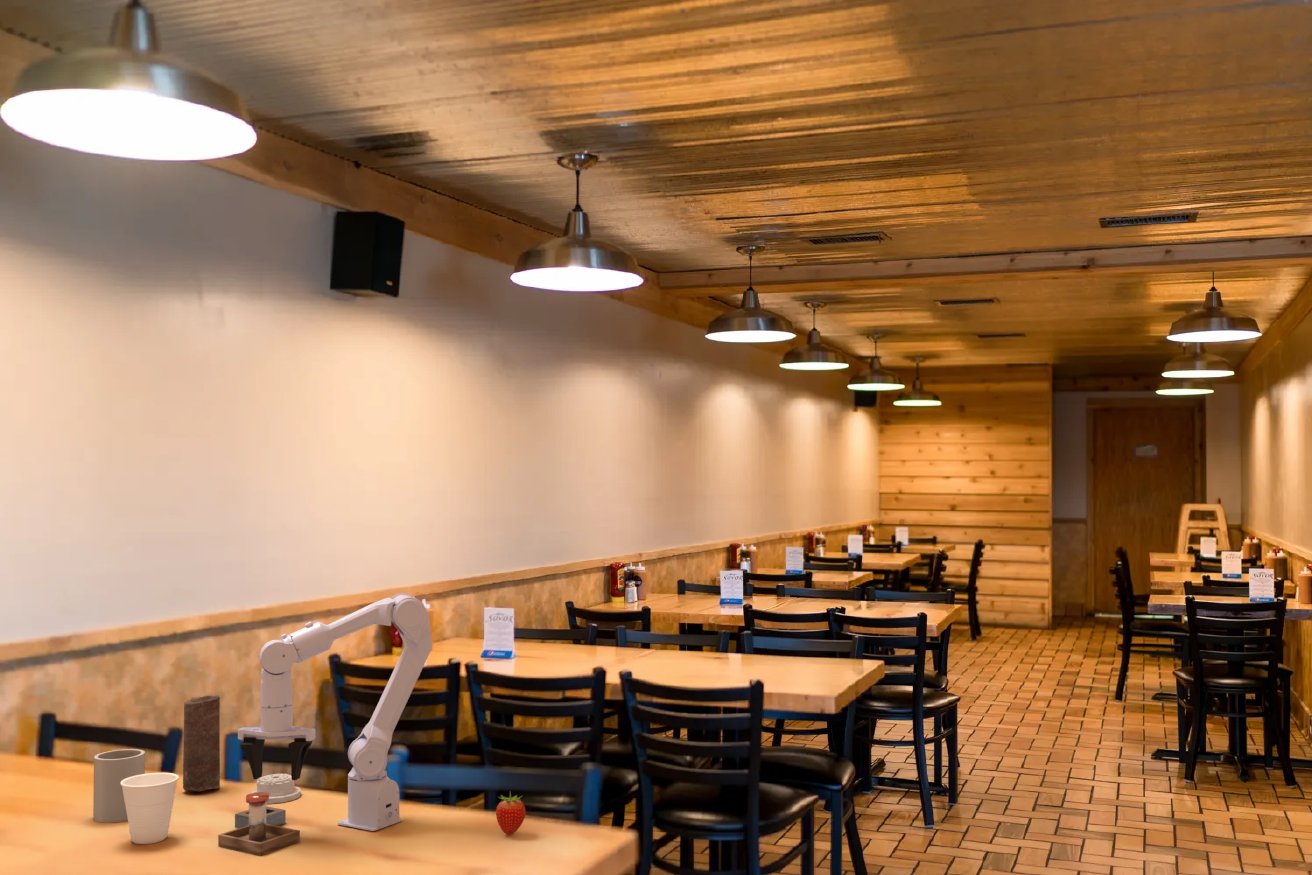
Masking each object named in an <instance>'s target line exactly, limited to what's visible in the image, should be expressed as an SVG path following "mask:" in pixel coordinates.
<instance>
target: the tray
mask: <svg viewBox="0 0 1312 875" xmlns="http://www.w3.org/2000/svg"><path fill="white" fill-rule="evenodd" d="M217 840H218V841H217V843H218V844H217V846H218V847H219V848H220V847H221V848H224V849H229V850H233V851H239V852H243V853H245V854H246V853H247V854H252V855H257V856H263V855H266V854H268V853H271V852H274V851H277V850H280V849H283V848H286V847H288V846H291V845H294V844H296V843H300V842H301V830H300V829H294V828H290V827H284V826H281V825H279V826H276V825H271V824H266V840H264V841H260V842H256V841H251V840H249V825H247V826H244V827H241V828H235V829H232V830H229V831H225V832H223V833H220V834H218V839H217Z"/></svg>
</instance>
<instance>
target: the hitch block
mask: <svg viewBox="0 0 1312 875" xmlns="http://www.w3.org/2000/svg"><path fill="white" fill-rule="evenodd" d="M286 812H287V811H286V809H281V808H277V807H271V806H267V805H266V824H271V825H276V826H281V825H284V824H286V823H287V822H286V817H287V816H286ZM247 825H249V809H247V810H243V811H240V812H236V813H234V828H235V829H238V828H241V827H244V826H247Z"/></svg>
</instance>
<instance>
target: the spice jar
mask: <svg viewBox="0 0 1312 875" xmlns="http://www.w3.org/2000/svg"><path fill="white" fill-rule="evenodd" d="M267 801H269V793H267V792H256V793H251V792H250V793H248V794H246V796H245V802H246V803H247V804H248V810H249V840H251V841H256V842H260V841H264V840H266V806H267V804H266V802H267Z"/></svg>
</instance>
